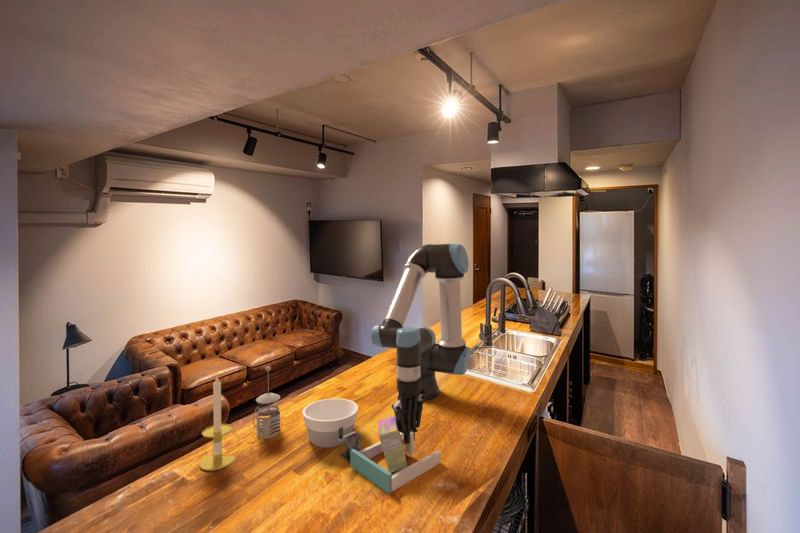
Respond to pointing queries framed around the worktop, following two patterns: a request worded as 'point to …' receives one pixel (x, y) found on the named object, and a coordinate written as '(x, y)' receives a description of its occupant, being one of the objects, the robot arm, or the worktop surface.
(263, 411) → the french press
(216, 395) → the candle
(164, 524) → the worktop surface
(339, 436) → the winch
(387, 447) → the box
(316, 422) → the bowl
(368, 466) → the bay
